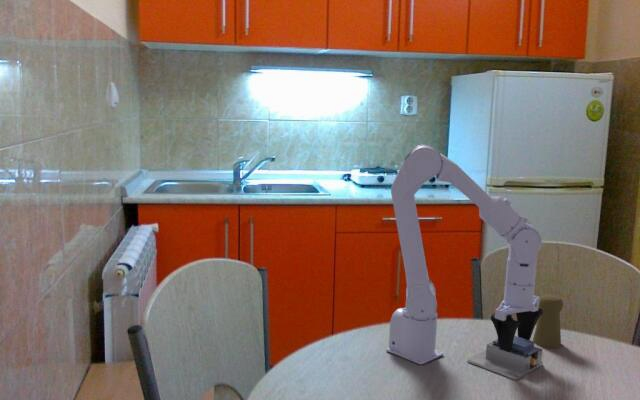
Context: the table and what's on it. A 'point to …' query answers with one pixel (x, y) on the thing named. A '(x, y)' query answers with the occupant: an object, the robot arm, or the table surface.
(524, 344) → the blue-grey long block
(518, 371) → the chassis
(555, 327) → the cork
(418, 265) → the robot arm
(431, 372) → the table surface
